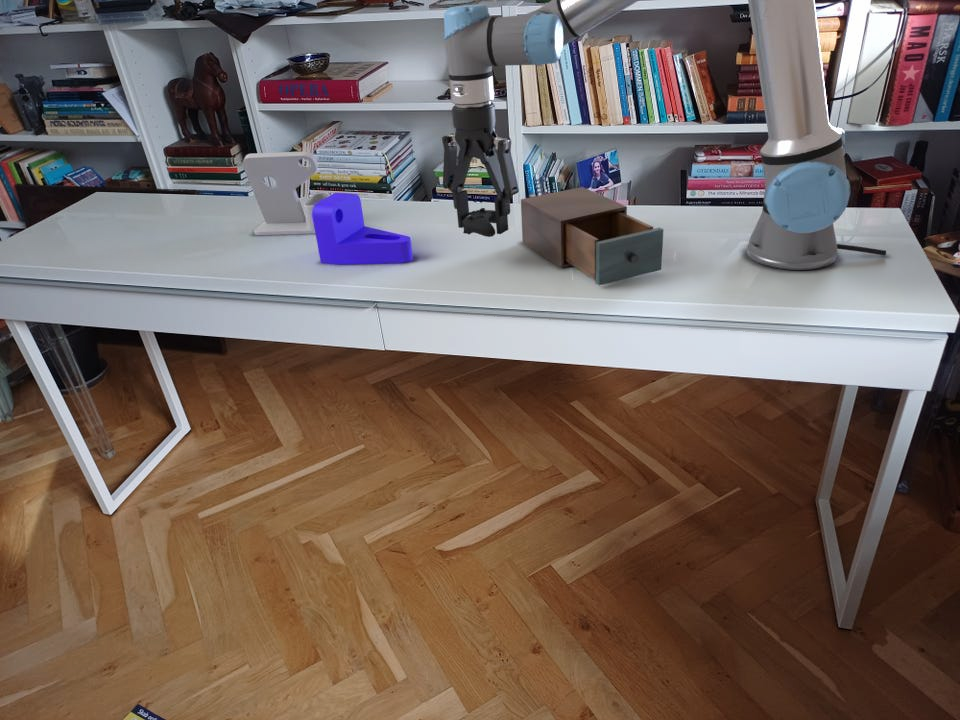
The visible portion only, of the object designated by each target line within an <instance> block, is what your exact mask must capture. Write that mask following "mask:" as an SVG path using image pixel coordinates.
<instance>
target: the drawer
mask: <svg viewBox="0 0 960 720" xmlns="http://www.w3.org/2000/svg"><path fill="white" fill-rule="evenodd" d="M563 224H564V260H565V261H566V262H568V263H569V264H571V265H572V267H574V268H576V269H578V270H579V271H581V272H582V273H583V274H585V275H587V276H589V277H590V278H592V279H593V280H595V285H596V284H597V285H598V286H602V285H603V286H604V285H607V284H610V283H615V282H619V281H622V280H626V279H627V280H628V279H630V278H634V277H637V276H642V275H646V274H650V273H654V272H658V271H662V263H663V245H664V228H662V227H655V228H654V226H653V225H650V224H648V223H647V222H644V221H642V220H640V219H637V218H635V217H633V216H631V215H628V214H627V215H626V214H624V213H622V212H620V211H618V212H613V213H609V214H604V215H600V216H595V217H590V218H586V219H581V220H577V221H572V222H568V223H563Z"/></svg>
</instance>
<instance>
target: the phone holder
mask: <svg viewBox="0 0 960 720" xmlns="http://www.w3.org/2000/svg"><path fill="white" fill-rule="evenodd" d="M303 159H304V160H307V161H308V162H309V163H310V165H311V166H306V165H305V166H304V165H303V164H302V163H301V162H300V160H303ZM318 167H319V163H318V159H317V157H316V156H315V155H314V154H313V153H312V152H309V151H306V150H305V151H278V152H277V151H276V152H259V153H258V152H257V153H255V152H254V153H248V154H246V155H245V156H244V158H243V161H242V168H243V169H244V172H245V175H246V177H247V180H248V182H249V185H250V188H251V189H252V192H253V195H254V198H255V200H256V202H257V205H258V207H259V209H260V212H261V215H262V217H263V220H264V221H263V222H262V223H261V224H259V226H257V227H256V228H255V229H254V230H253V233H254V235H256V236H275V235H281V236H282V235H310V234H311V235H313V234H314V235H316V234H315V229H314V223H313V218H312V210H313V207H314V205H315V204H316V203H317V202H319V201H321V200H323V199H325V198H327V197H328V196H330V195H331V194H329V193H326V192H322V193H316V194H312V195H311V196H310V197H309V198H308V199H307V200H306V201H305V202H304V203H303V205H302V204H301V201H300V198H299V195H298V192H297V188H299V187H300V186H301V185H302V184H304V183H305V182H306V181H307V180H308V179H310V178H311V177H312V176H313V175H314V174H315V173H316V172H317V170H318ZM266 177H268V178H271V179H273V180H274V181H275V185H273V186H270V185H269V184H267V183H266V182H265V180H264V179H265V178H266Z"/></svg>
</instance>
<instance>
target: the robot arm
mask: <svg viewBox="0 0 960 720" xmlns="http://www.w3.org/2000/svg"><path fill="white" fill-rule="evenodd" d="M639 1H640V0H550V1H548V2H546V4H544V5H543V6H541V7H539V8H537V9H536V10H533V11H530V12H526V13H525V14H520V15H519V14H518V15H510V16H509V15H508V16H490V15H491V14H490V13H489V7H488V6H487V5H486V4H483V3H478V4H464V5H456V6H450V7H448V8H447V9H445V11H444V13H443V27H444V28H443V29H444V37H443V40H444V43H445V44H444V45H445V52H446V61H447V71H448V79H449V80H448V81H449V92H450V101H451V104H453V106H452V108H451V115H452V124H453V128H454V129H455V132H454V133H453V132H451V133H449V134H445V135H443V136H442V137H441V141H442V145H443V168H442V169H443V170H442V187H443V189H444V190H447V189H448V190H449V191H450V193H452V202H453V208H454V210H456V214H457V216H456V217H457V225H458V226H457V227H458V228H459V229H464V227H463V225H462V221H463V220H464V219H465V218H466V216H467V214H469V213H470V207H469V205H470V204H469V195H468V190H464V189H466V186H465V185H466V179H467V177H468V173H469V169H470V166H471V163H472V160H473V159H477V160H480V162H481V164H482V165H483V166H484V167H485V171H486V173H487V175H488V177H489V180H490V182H491V184H492V186H493V189H494V191H495V193H496V196H497V197H496V198H494V199H493V200H494V211H495V215H496V223H495V226H496V227H495V228H496V229H495V230H496V235H501V234H503V233H505V232H507V231H509V219H508V215H510V214H511V200H510V198H511V197H512V196H514V195H516V194H518V193H519V192H520V189H519V184H518V178H517V175H516V170H515V165H514V161H513V156H512V139H511V138H510V137H509V136H508V137H505V138H503V137H500V136H498V135H497V133H496V130H495V129H496V128H495V127H496V122H497V119H496V105H495V104H494V102H492V101H493V100H494V99H495V88H494V75H493V67H502V66H535V67H540V66H542V65H551V64H556V63H557V62H559V60H560V59H561V57H562V54H563V50H564V47H565V46H566V45H569V43H572V42H574V40H576V39H578V38H579V37H581V36H582V35H584V34H586V33H587V32H589V31H590V30H592V29H594V28H595V27H598V26H599V25H600V24H603V23H604V22H606V21H607V20H609V19H610V18H612V17H614V16H616V15H617V14H619V13H620V12H622V11H624V10H625V9H628V8H629V7H630V6H633V5H634V4H636V3H637V2H639ZM747 2H748V3H747V4H748V10H749V15H750V23H751V30H752V36H753V42H754V49H755V55H756V62H757V70H758V75H759V83H760V89H761V90H760V91H761V95H762V101H763V102H762V103H763V109H764V114H765V115H764V116H765V122H766V123H765V124H766V127H767V128H766V129H767V135H768V138H767V141H765V143H764V144H763V146H762V147H761V148H760V158H761V159H760V160H761V167H762V173H763V178H764V179H763V180H764V184H765V185H764V194H763V202H762V211H761V214H760V216H759V218H758V220H757V223H756V224H755V227H754V229H753V231H752V233H751V235H750V237H749V240H748V243H747V248H746V254H747V256H748V257H749V259H751V260H752V261H754V262H756V263H758V264H760V265H763V266H765V267H770V268H775V269H781V270H791V271H808V270H816V269H822V268H824V267H827V266H830V265H832V264H833V263H835V261H836V259H837V254H838V250H845V251H852V252H860V253H866V254H873V255H880V256H887V250H885V249H880V248H879V249H878V248H873V247H872V248H871V247H865V246H859V245H851V244H842V243H838V242H837V237H836V232H835V231H836V230H835V226H834V223H836V222H837V220H839V218H840V217H841V216H842V215H843V214H844V213H845V211H846V209H847V207H848V204H849V201H850V197H851V184H850V181H849V179H848V177H847V171H846V161H845V154H844V153H845V152H844V148H845V147H846V142H845V141H846V140H845V139H846V133H845V130H843V129H842V128H839V127H835V126H832V125H831V124H830V122H829V112H828V104H827V96H826V95H827V94H826V86H825V77H824V69H823V61H822V52H821V45H820V35H819V26H818V17H817V10H816V1H815V0H747ZM458 147H459V151H458Z"/></svg>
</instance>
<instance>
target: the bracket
mask: <svg viewBox="0 0 960 720" xmlns="http://www.w3.org/2000/svg"><path fill="white" fill-rule="evenodd" d="M329 195H330V196H328V197H327V198H325V199H323V200H321V201H319V202H317V203H316V204H315V205H314V207H313V210H312V218H313V223H314V229H315V234H314V235H315V238H316V239H315V240H316V244H317V250H318V255H319V260H320V264H330V265H338V266H342V265H343V266H345V265H346V266H347V265H379V264H384V265H385V264H406V263H409V262H412V261H413V260H414V257H413V247H412V239H411V237H410V236H409V235H404V234H401V233H397V232H392V231H388V230H383V229H380V228H379V229H378V228H374V227H369V226H366V225H365V221H364V213H363V206H362V200H361V197H360V195H359V194H357V193H348V192H347V193H345V192H334V193H332V194H329Z"/></svg>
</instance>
